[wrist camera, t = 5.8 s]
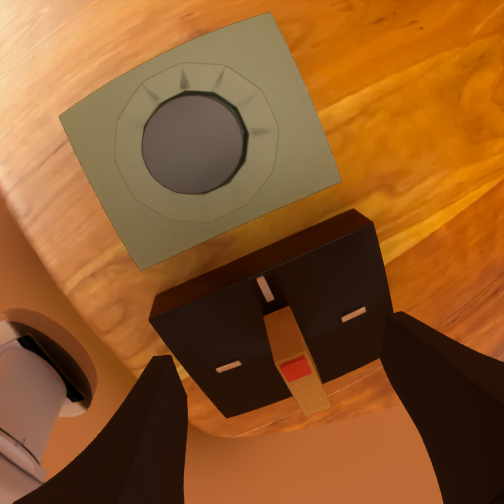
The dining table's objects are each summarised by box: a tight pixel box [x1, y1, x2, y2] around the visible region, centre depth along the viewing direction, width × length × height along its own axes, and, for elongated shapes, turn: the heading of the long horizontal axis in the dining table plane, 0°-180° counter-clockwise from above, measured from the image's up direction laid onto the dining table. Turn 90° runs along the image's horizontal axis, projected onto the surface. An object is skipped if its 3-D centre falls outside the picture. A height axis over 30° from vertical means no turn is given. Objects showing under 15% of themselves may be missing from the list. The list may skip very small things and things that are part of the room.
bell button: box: [142, 95, 243, 195], centre depth 11 cm, size 4×4×2 cm
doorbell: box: [59, 12, 342, 271], centre depth 13 cm, size 11×9×3 cm
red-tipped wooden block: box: [263, 306, 331, 417], centre depth 15 cm, size 4×1×4 cm, turn 23°
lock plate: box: [148, 209, 394, 418], centre depth 18 cm, size 12×9×3 cm
